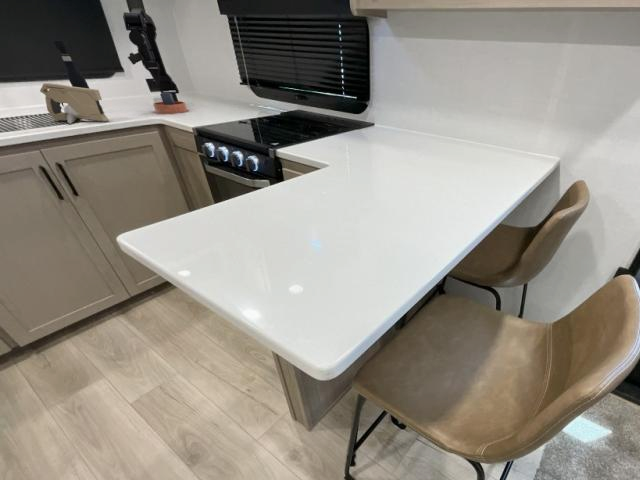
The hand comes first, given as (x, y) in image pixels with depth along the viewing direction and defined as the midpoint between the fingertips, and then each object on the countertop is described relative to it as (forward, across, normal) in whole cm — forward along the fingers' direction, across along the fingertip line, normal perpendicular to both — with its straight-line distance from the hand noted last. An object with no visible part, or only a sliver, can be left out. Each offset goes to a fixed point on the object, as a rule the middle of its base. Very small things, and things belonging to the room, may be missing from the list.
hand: (157, 83), depth 171 cm
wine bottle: (+13, -12, -33) cm, 38 cm away
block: (+12, -1, +2) cm, 13 cm away
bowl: (+13, -1, +2) cm, 13 cm away
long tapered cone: (+13, +8, -39) cm, 42 cm away
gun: (+13, +12, -36) cm, 40 cm away
